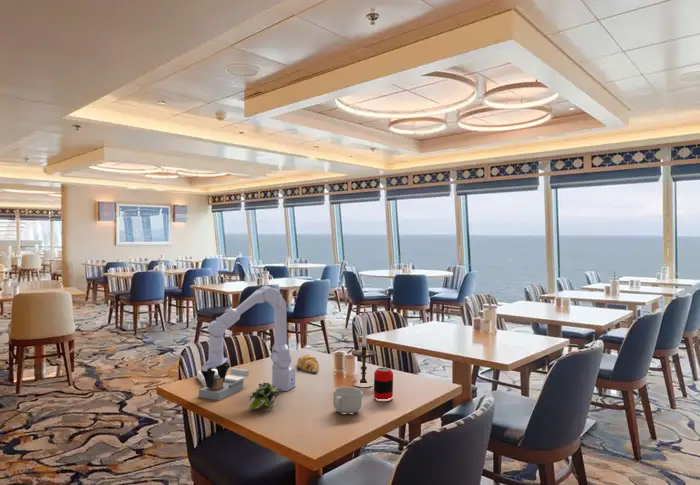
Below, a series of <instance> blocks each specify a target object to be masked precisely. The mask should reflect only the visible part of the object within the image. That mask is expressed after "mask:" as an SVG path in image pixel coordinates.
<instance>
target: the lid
mask: <svg viewBox="0 0 700 485" xmlns="http://www.w3.org/2000/svg"><path fill="white" fill-rule="evenodd" d="M249 372H250V370H249V369H242V368H241V369H240V368H235V367H232V368H231V369H230V374H226V376H225V380H224V381H230V382H237V381H239V380H241V379H244V381H245V380H247V379H249V375H250V374H249Z"/></svg>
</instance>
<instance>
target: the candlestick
mask: <svg viewBox="0 0 700 485" xmlns="http://www.w3.org/2000/svg"><path fill="white" fill-rule="evenodd" d="M363 313H364V314H363V315H362V326H361V327H362V328H361V329H362V333H361V334H362V336H361V340H362V341H361V345H359V347H360V348H361V349H354V350H352V351H351V355H352V356H353V357H357V358H361V359H362V362H361V363H362V364H361V366H360V370H361V372H360V375H361V377H362V378H361V379H359V380H360V383H367V381H366V380H367V379H366V375H367V369H368V367H367V366H366V359H367V358H373V357H376V356H377V351H376V350H372V349H367V348H369V345H367V337H368V336H367V334H368V333H367V332H368V330H367V328H368V326H367V325H368V324H367V322H368V321H367V320H368V316H367V315H366V308H365V306H363ZM353 383H354V381H353Z"/></svg>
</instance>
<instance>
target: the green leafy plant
mask: <svg viewBox="0 0 700 485" xmlns="http://www.w3.org/2000/svg"><path fill="white" fill-rule="evenodd" d="M281 391H282V390H281V389H279V387H277V388H275V386H274V385H273V386H272V383H269V382H262V383H258V387H257V388H256V389H255V391H253V392H251V395H249V396H248V397H249V400H248V401H251V400H252V399H254V400H253V401H252V403H251V404H250V405H249V408H248V409H249V411H250V412H251V411H253V409H254V410H258V409H259V408H261V407H262V406H264V405H266V406H267V408H270V410H269V412H271V410H272V408H273V405H274V403H275V401H276V398H277V397H278V396H279V394H280V393H281ZM273 397H274V398H273Z"/></svg>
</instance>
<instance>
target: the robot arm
mask: <svg viewBox="0 0 700 485" xmlns="http://www.w3.org/2000/svg"><path fill="white" fill-rule="evenodd" d="M265 302H266V303H268V304H269V305H270V306H271V307H273V313H274V316H273V319H274V320H273V322H274V323H273V326H274V327H273V328H274V331H273V332H274V336H273V337H274V338H273V339H274V343H273V346H272V351H271V354H270V359H271V362H272V367H271V368H272V371H271V380H272V381H271V385H272V386H273V385H274V386H275V388H277V387H279V389H281V391H284V392H288V391H290V390H291V389H294V388H296V386H297V385H296V370H295V368H293V367H291V366H290V365H291V363H292V357H291V355H290V349H289V346H288V344H287V340H288V338H287V336H288V333H287V332H288V331H287V328H288V327H287V321H288V320H287V302H286V300H285V298H284V297H283V296H282V294H281V291H280V290H278V289H277V288H276V287H271V286H268V285H263V286H260V288H258V289H256V290H255V291H254V292H253V293H252V294H251V295H249V296H248V297H247V298H246V299H245V300H244V301H242V302H241V303H240V304H239V305H238V306H237V307H236V308H230V309H228V308H227V309H225V311H224V313H223V314H222V315H220V316H217V317H216V318H215V320H212V321H211V322H209V324H208V326H207V332H208V333H209V334H208V337H209V338H208V360H207V361H206V363H205V364H204V365H202V366H201V369H200V371H201V373H202V374H203V376H204V378H205V382H206V386H207V387H208V388H212V385H213V377H214V374H215V372H216V371H212V370H211V369H215V368H216V369H217V371H218V375H219V376H220V378H223V382H224V380H225V376H227V373H228V370H229V368H230V367H231V365H230V364H229V363H230V362H229V358H228V357H224V334H226V330H228V329H229V328H231V327H232V326H233V325H235V323H236V322H238V321H239V320H240V319H241V316H242V314H243V313H245V312H246V311H248V310H249V309H251V308H252V307H253V306H254V305H257V304H264V303H265ZM206 386H205V387H206Z"/></svg>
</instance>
